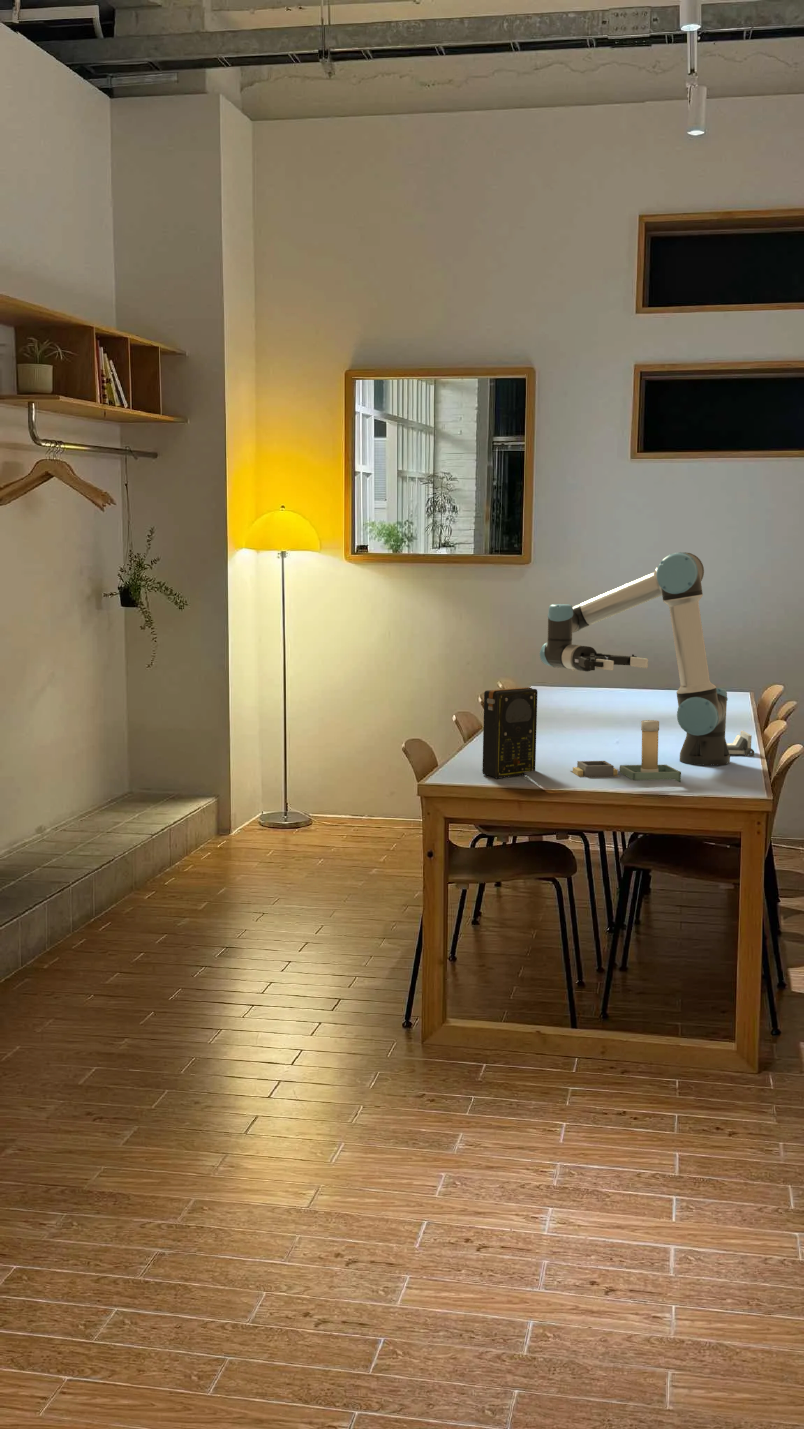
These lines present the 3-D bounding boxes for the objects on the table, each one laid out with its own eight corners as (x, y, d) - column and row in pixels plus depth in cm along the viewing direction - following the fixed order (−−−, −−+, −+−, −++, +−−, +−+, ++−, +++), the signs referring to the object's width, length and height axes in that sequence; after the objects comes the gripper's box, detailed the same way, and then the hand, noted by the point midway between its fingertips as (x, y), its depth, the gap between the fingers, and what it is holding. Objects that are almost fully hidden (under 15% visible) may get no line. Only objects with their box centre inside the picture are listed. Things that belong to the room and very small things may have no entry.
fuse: (654, 774, 381) (655, 719, 379) (660, 777, 376) (661, 722, 374) (638, 775, 380) (638, 720, 378) (644, 778, 375) (645, 722, 373)
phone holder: (698, 726, 417) (691, 721, 429) (697, 756, 419) (689, 750, 430) (755, 727, 417) (746, 721, 429) (754, 757, 419) (745, 751, 430)
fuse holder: (609, 773, 385) (610, 760, 385) (620, 780, 376) (621, 766, 375) (569, 774, 384) (570, 760, 383) (579, 780, 374) (580, 766, 373)
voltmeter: (497, 779, 374) (499, 692, 370) (478, 775, 380) (479, 688, 377) (538, 774, 383) (541, 688, 379) (519, 769, 390) (521, 685, 386)
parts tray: (665, 774, 385) (666, 764, 385) (680, 782, 373) (681, 772, 373) (619, 775, 383) (619, 765, 382) (633, 783, 371) (633, 772, 371)
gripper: (610, 668, 406) (660, 675, 389) (548, 672, 393) (597, 679, 375) (611, 644, 405) (661, 649, 388) (549, 647, 391) (598, 653, 374)
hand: (629, 664), depth 382 cm, fingers open, 13 cm apart
